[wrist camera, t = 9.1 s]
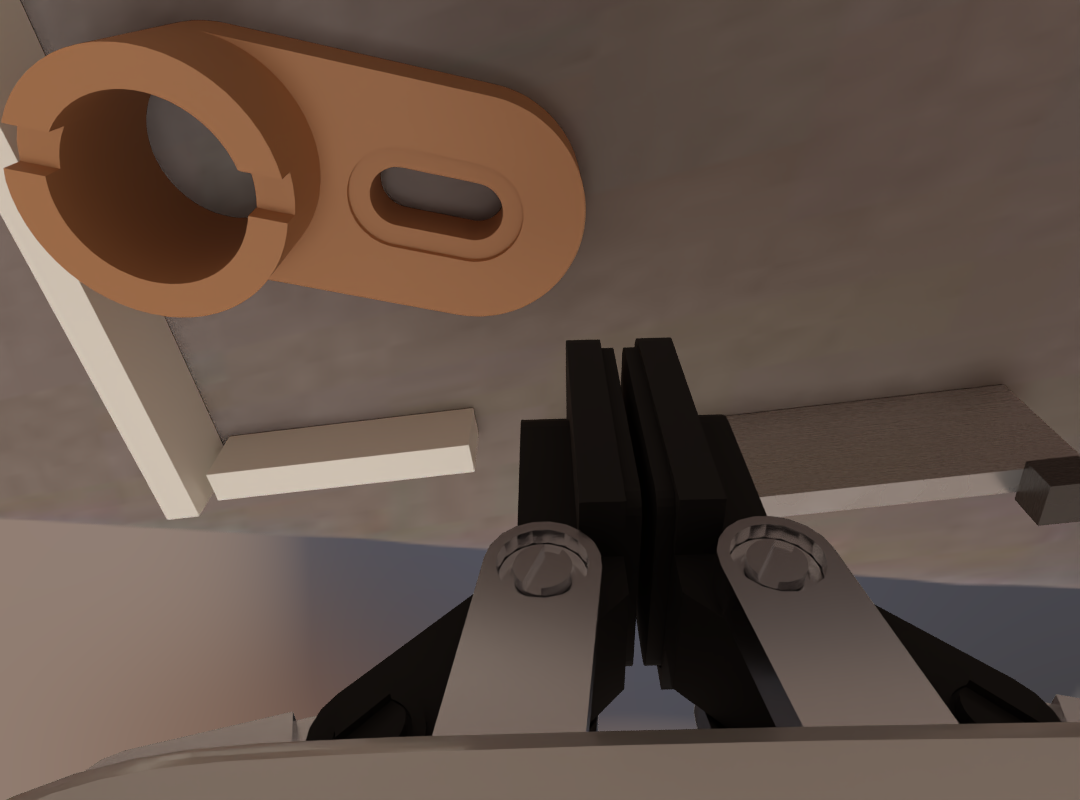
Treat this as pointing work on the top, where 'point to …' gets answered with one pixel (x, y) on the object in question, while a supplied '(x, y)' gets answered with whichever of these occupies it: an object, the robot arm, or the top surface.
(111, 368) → the white u-shaped frame
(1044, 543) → the top surface
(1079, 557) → the top surface
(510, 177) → the bracket
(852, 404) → the gate
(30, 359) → the top surface
